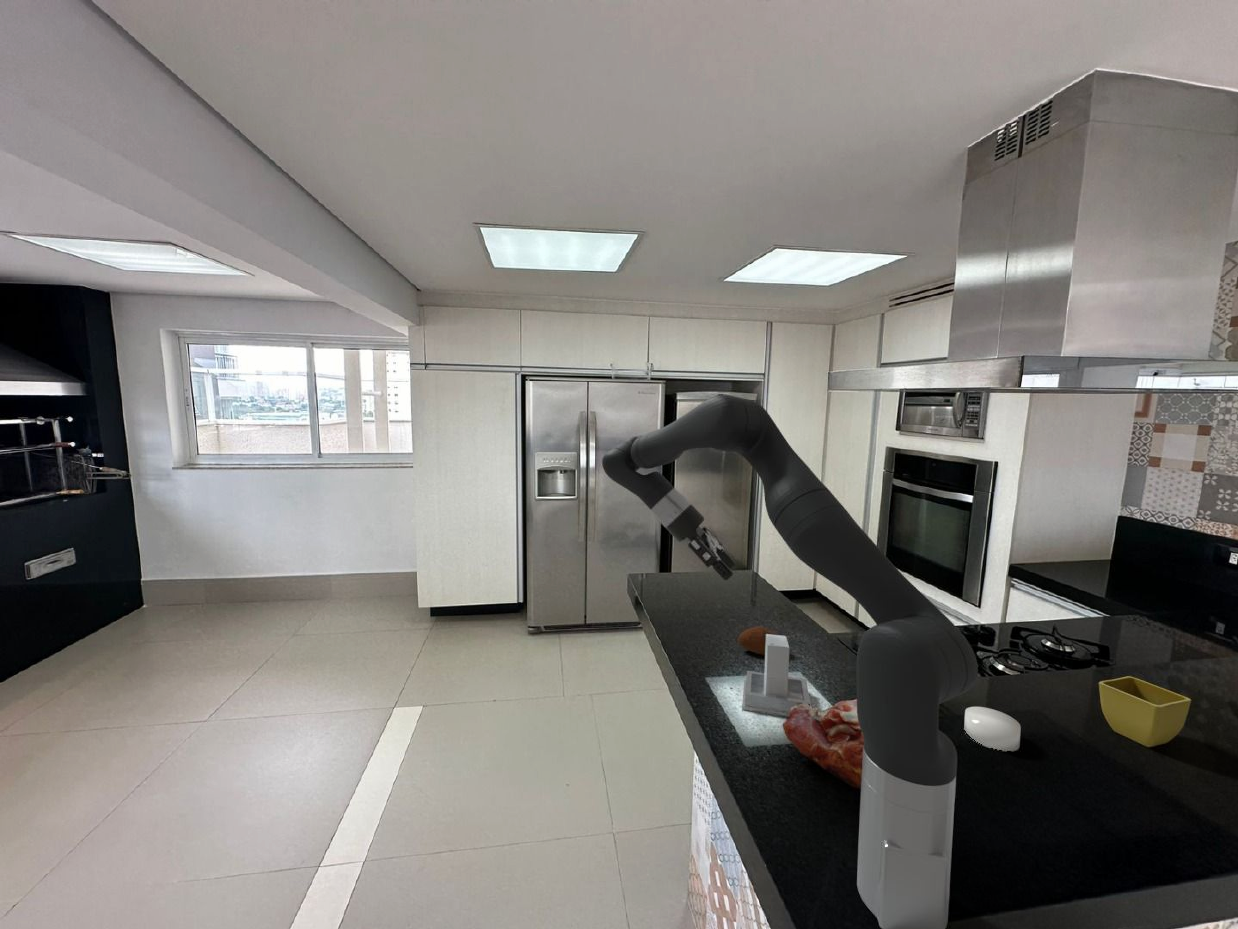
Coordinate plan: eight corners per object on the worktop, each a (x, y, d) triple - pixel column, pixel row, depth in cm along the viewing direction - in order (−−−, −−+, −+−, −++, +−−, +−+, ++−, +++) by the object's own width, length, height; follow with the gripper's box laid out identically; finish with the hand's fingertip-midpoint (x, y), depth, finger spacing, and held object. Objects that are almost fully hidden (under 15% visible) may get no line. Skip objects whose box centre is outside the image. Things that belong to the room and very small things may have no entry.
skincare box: (787, 707, 97) (789, 647, 96) (765, 704, 98) (767, 645, 97) (784, 691, 103) (786, 635, 102) (763, 689, 104) (765, 633, 103)
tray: (812, 721, 94) (813, 705, 93) (742, 709, 97) (742, 694, 97) (807, 692, 104) (808, 678, 104) (744, 682, 108) (744, 669, 108)
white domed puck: (1028, 756, 84) (1030, 736, 84) (974, 747, 87) (975, 727, 86) (1006, 729, 92) (1007, 710, 92) (957, 722, 94) (958, 703, 94)
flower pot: (1154, 757, 84) (1159, 706, 84) (1093, 727, 93) (1097, 681, 92) (1188, 749, 87) (1193, 699, 86) (1126, 721, 95) (1129, 675, 95)
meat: (780, 708, 98) (782, 659, 98) (901, 729, 92) (904, 677, 91) (781, 778, 78) (783, 717, 78) (935, 811, 72) (938, 745, 71)
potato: (788, 659, 119) (789, 633, 119) (740, 657, 120) (741, 631, 120) (781, 648, 125) (782, 623, 125) (735, 647, 126) (736, 622, 126)
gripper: (685, 507, 98) (743, 569, 96) (694, 498, 112) (745, 552, 109) (658, 532, 100) (715, 593, 97) (670, 521, 114) (720, 574, 111)
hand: (731, 571), depth 103 cm, fingers open, 8 cm apart
